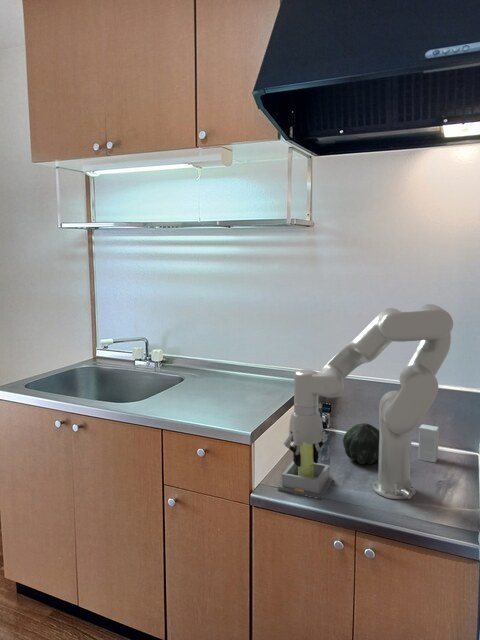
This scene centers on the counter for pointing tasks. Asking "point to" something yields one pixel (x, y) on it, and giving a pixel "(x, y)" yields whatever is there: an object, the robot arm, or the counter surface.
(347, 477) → the counter surface
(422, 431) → the skincare box
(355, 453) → the squash
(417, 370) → the robot arm
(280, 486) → the socket
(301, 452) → the tube
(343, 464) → the counter surface
